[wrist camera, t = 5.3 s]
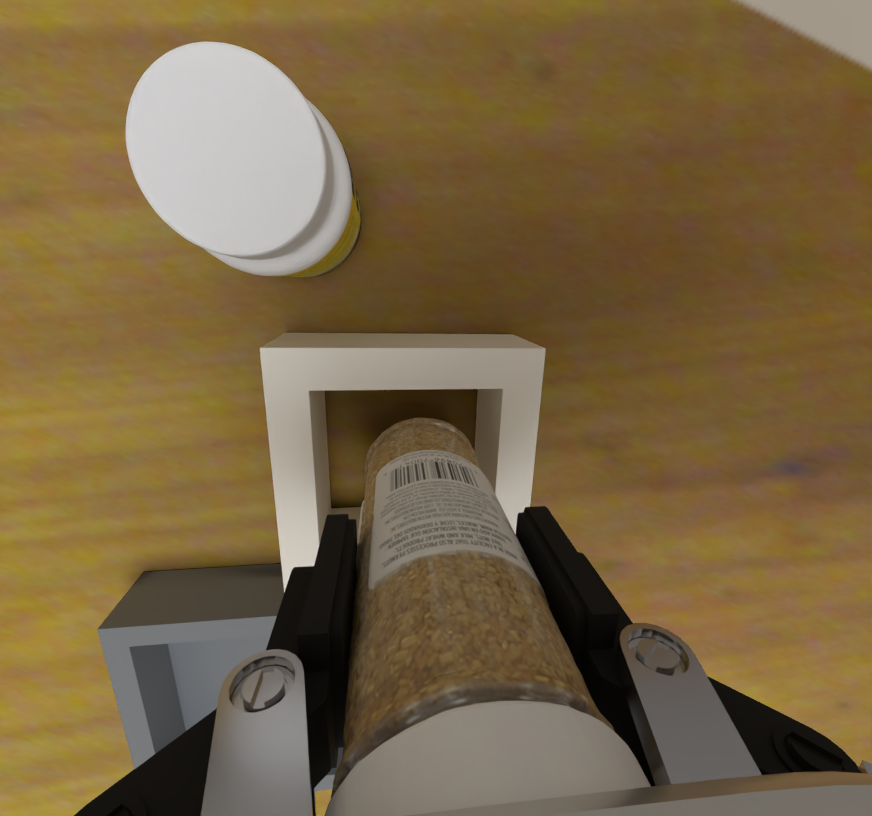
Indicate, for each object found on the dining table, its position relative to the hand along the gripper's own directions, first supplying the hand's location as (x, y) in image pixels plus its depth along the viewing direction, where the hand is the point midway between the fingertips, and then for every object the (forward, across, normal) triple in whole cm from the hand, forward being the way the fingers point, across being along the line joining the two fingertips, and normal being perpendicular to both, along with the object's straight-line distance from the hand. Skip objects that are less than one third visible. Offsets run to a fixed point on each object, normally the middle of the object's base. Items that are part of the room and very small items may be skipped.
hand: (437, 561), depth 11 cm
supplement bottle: (+9, +5, -10) cm, 14 cm away
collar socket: (+9, +1, 0) cm, 9 cm away
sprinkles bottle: (+6, 0, 0) cm, 6 cm away
